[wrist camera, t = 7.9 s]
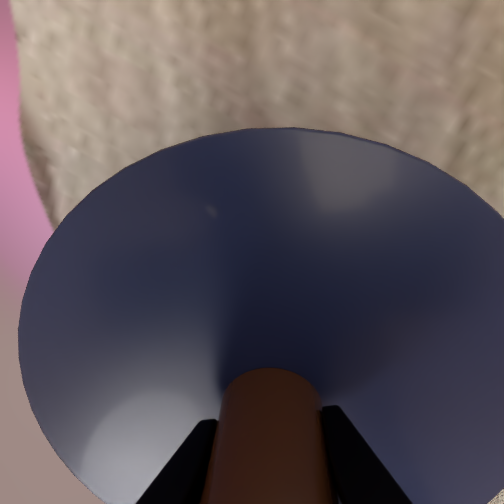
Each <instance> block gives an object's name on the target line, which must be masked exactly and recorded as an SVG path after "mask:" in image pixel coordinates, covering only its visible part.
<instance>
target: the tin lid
mask: <svg viewBox="0 0 504 504" xmlns="http://www.w3.org/2000/svg"><path fill="white" fill-rule="evenodd" d="M18 347H19V362H20V368H21V374H22V379H23V384H24V388H25V391H26V394H27V397H28V400H29V403H30V406H31V409H32V411H33V413H34V415H35V417H36V419H37V421H38V424H39V425H40V428H41V430H42V432H43V433H44V435H45V437H46V438H47V440H48V441H49V443H50V444H51V446H52V448H53V449H54V451H55V452H56V454H57V455H58V456H59V458H60V459H61V460H62V461H63V462H64V464H65V465H66V466H67V467H68V468H69V470H70V471H71V472H72V473H73V474H74V476H76V478H77V479H79V480H80V481H81V482H82V483H83V484H84V485H85V486H86V487H87V488H88V489H89V490H90V491H91V492H92V493H93V494H94V495H95V496H97V497H98V498H99V499H101V500H102V501H103V502H104V503H106V504H136V502H137V501H138V500H139V498H140V497H141V496H142V495H143V493H144V492H145V491H146V489H147V488H148V487H149V485H150V484H151V483H152V482H153V480H154V479H155V478H156V476H157V475H158V474H159V473H160V471H161V470H162V469H163V467H164V466H165V465H166V464H167V462H168V461H169V460H170V458H171V457H172V456H173V454H174V453H175V452H176V451H177V449H178V448H179V447H180V445H181V444H182V443H183V442H184V440H185V439H186V438H187V436H188V435H189V434H190V433H191V431H192V430H193V429H194V427H195V426H196V425H197V424H198V422H199V421H201V420H205V419H216V420H217V421H218V422H217V426H216V431H215V436H214V441H213V445H212V450H211V455H210V460H209V464H208V469H207V474H206V478H205V483H204V488H203V493H202V497H201V502H200V504H339V500H338V494H337V489H336V485H335V480H334V476H333V472H332V467H331V462H330V457H329V452H328V446H327V440H326V434H325V427H324V421H323V415H322V407H323V406H330V405H338V406H340V407H341V409H342V410H343V411H344V413H345V414H346V415H347V417H348V418H349V419H350V421H351V422H352V423H353V425H354V426H355V427H356V429H357V430H358V431H359V433H360V434H361V435H362V437H363V438H364V439H365V440H366V442H367V443H368V444H369V446H370V447H371V448H372V450H373V451H374V452H375V454H376V455H377V456H378V458H379V459H380V460H381V462H382V463H383V464H384V466H385V467H386V468H387V470H388V471H389V472H390V474H391V475H392V476H393V478H394V479H395V480H396V482H397V483H398V484H399V486H400V487H401V488H402V490H403V491H404V492H405V494H406V495H407V496H408V498H409V499H410V500H411V502H412V503H413V504H487V503H488V502H490V501H491V500H492V499H493V498H494V497H495V496H496V495H497V494H498V493H499V492H500V491H501V490H502V489H503V488H504V219H503V218H502V216H501V215H500V214H499V213H498V212H497V211H496V210H495V209H494V208H492V207H491V206H490V205H489V204H488V203H487V202H485V201H484V200H483V199H482V198H481V197H479V196H478V195H477V194H476V193H475V192H474V191H472V190H471V189H470V188H469V187H468V186H467V185H465V184H464V183H462V182H460V181H459V180H457V179H455V178H454V177H452V176H450V175H449V174H447V173H446V172H444V171H442V170H441V169H439V168H437V167H436V166H434V165H432V164H431V163H429V162H427V161H425V160H422V159H420V158H418V157H415V156H413V155H410V154H408V153H406V152H403V151H401V150H399V149H396V148H394V147H391V146H389V145H387V144H383V143H379V142H376V141H372V140H368V139H364V138H360V137H356V136H352V135H348V134H345V133H341V132H332V131H323V130H314V129H305V128H296V127H284V128H249V129H242V130H236V131H230V132H224V133H218V134H212V135H207V136H202V137H198V138H195V139H192V140H189V141H186V142H183V143H180V144H177V145H174V146H171V147H168V148H164V149H161V150H159V151H157V152H155V153H153V154H151V155H149V156H147V157H145V158H143V159H141V160H139V161H137V162H135V163H133V164H131V165H129V166H127V167H125V168H123V169H122V170H120V171H119V172H118V173H116V174H115V175H113V176H112V177H110V178H109V179H108V180H106V181H105V182H103V183H102V184H101V185H99V186H98V187H96V188H95V189H93V190H92V191H91V192H90V193H89V194H88V195H87V196H86V197H85V198H84V199H83V200H82V201H81V202H80V203H79V204H78V205H77V206H76V207H75V208H74V209H73V210H72V211H70V212H69V213H68V214H67V215H66V217H65V218H64V219H63V221H62V222H61V223H60V225H59V226H58V228H57V229H56V230H55V232H54V233H53V234H52V236H51V237H50V238H49V240H48V241H47V242H46V244H45V246H44V248H43V250H42V252H41V254H40V256H39V258H38V260H37V262H36V264H35V266H34V268H33V270H32V272H31V274H30V277H29V281H28V284H27V287H26V290H25V293H24V297H23V300H22V305H21V312H20V320H19V327H18Z"/></svg>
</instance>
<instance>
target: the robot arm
mask: <svg viewBox="0 0 504 504" xmlns="http://www.w3.org/2000/svg"><path fill="white" fill-rule="evenodd" d="M322 415H323V421H324V427H325V434H326V440H327V446H328V452H329V457H330V462H331V467H332V472H333V476H334V480H335V485H336V489H337V494H338V500H339V504H413V503H412V502H411V500H410V499H409V498H408V496H407V495H406V494H405V492H404V491H403V490H402V488H401V487H400V486H399V484H398V483H397V482H396V480H395V479H394V478H393V476H392V475H391V474H390V472H389V471H388V470H387V468H386V467H385V466H384V464H383V463H382V462H381V460H380V459H379V458H378V456H377V455H376V454H375V452H374V451H373V450H372V448H371V447H370V446H369V444H368V443H367V442H366V440H365V439H364V438H363V437H362V435H361V434H360V433H359V431H358V430H357V429H356V427H355V426H354V425H353V423H352V422H351V421H350V419H349V418H348V417H347V415H346V414H345V413H344V411H343V410H342V409H341V407H340V406H338V405H330V406H323V407H322ZM217 422H218V421H217V420H216V419H205V420H201V421H199V422H198V424H197V425H196V426H195V427H194V429H193V430H192V431H191V433H190V434H189V435H188V436H187V438H186V439H185V440H184V442H183V443H182V444H181V445H180V447H179V448H178V449H177V451H176V452H175V453H174V454H173V456H172V457H171V458H170V460H169V461H168V462H167V464H166V465H165V466H164V467H163V469H162V470H161V471H160V473H159V474H158V475H157V476H156V478H155V479H154V480H153V482H152V483H151V484H150V485H149V487H148V488H147V489H146V491H145V492H144V493H143V495H142V496H141V497H140V498H139V500H138V501H137V502H136V504H200V502H201V497H202V493H203V488H204V483H205V478H206V474H207V469H208V464H209V460H210V455H211V450H212V445H213V441H214V436H215V431H216V426H217Z"/></svg>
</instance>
